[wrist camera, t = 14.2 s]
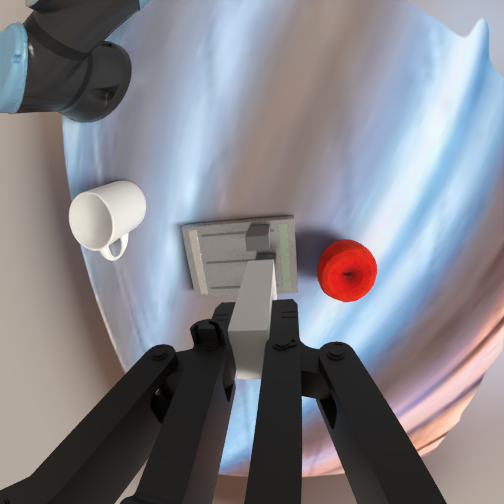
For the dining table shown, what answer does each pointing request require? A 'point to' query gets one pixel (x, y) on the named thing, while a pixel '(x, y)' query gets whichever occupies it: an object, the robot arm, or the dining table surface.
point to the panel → (237, 254)
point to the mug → (107, 216)
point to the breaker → (258, 238)
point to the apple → (346, 270)
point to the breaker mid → (268, 257)
